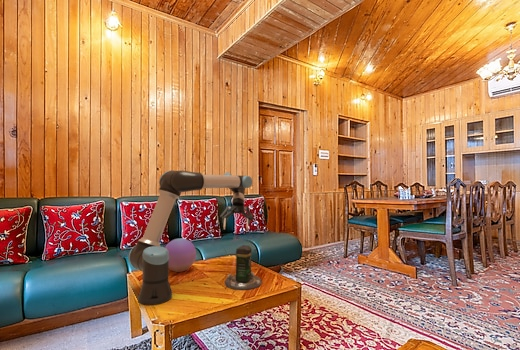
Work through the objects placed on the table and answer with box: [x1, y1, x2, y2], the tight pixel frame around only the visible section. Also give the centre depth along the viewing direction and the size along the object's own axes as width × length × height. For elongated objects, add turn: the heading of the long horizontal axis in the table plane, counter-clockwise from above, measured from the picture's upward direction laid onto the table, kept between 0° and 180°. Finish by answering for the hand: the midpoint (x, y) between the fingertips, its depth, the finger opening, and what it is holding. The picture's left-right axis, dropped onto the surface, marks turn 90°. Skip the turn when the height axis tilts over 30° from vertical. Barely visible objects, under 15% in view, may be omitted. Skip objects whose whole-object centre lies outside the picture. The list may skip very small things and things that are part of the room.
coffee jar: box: [235, 244, 252, 283], centre depth 157 cm, size 10×8×19 cm
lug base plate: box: [224, 271, 262, 291], centre depth 157 cm, size 20×20×3 cm
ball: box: [164, 237, 197, 273], centre depth 177 cm, size 20×20×20 cm
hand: (235, 228), depth 169 cm, fingers open, 13 cm apart
